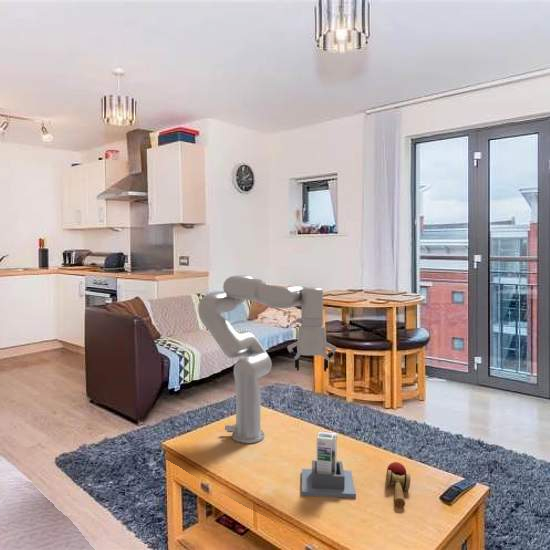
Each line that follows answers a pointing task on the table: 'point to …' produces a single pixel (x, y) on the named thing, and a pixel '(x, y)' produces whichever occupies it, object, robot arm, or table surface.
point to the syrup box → (326, 453)
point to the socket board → (328, 482)
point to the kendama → (398, 481)
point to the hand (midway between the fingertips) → (311, 370)
